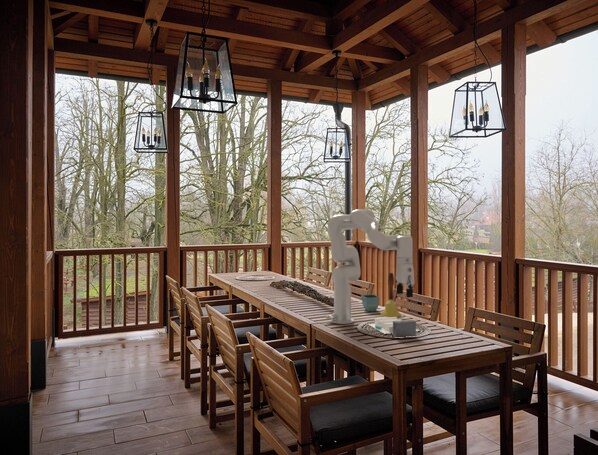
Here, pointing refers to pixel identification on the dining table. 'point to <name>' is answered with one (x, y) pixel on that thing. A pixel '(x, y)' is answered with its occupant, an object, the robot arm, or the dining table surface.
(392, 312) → the handbell
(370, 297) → the flower pot
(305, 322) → the dining table surface
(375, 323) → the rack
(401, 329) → the panel
